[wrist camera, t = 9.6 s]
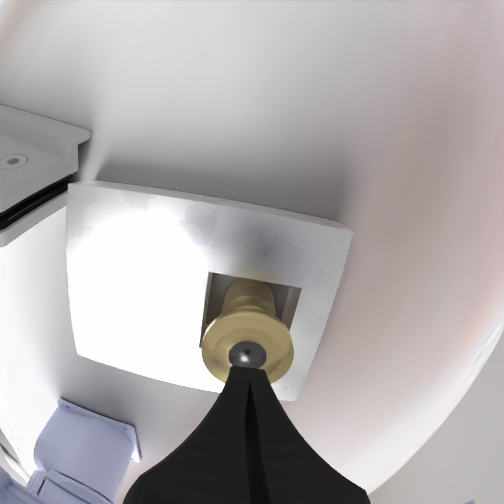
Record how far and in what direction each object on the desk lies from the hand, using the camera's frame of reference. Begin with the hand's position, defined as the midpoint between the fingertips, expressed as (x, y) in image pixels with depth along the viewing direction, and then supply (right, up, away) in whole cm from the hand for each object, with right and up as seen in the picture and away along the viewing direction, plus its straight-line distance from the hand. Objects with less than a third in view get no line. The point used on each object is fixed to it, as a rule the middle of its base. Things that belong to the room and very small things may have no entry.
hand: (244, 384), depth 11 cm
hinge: (-19, +13, +5) cm, 24 cm away
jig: (-3, +3, +8) cm, 9 cm away
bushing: (0, +2, +8) cm, 8 cm away
